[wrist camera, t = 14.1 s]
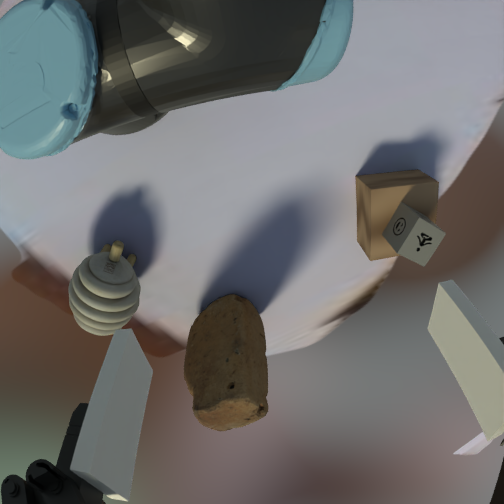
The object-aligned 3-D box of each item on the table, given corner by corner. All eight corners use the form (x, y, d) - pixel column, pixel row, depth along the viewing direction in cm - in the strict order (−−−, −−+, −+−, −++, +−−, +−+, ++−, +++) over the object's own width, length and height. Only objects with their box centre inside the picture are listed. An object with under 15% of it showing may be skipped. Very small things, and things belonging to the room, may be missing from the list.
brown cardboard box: (354, 175, 41) (370, 189, 36) (417, 168, 41) (438, 182, 36) (356, 240, 46) (370, 260, 41) (414, 230, 46) (432, 249, 41)
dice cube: (426, 216, 38) (445, 233, 34) (407, 247, 40) (424, 266, 36) (400, 201, 37) (419, 217, 33) (381, 234, 39) (397, 253, 35)
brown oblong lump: (243, 284, 49) (247, 393, 31) (266, 316, 52) (279, 421, 35) (185, 312, 51) (168, 417, 34) (211, 340, 54) (204, 442, 37)
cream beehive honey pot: (82, 297, 49) (57, 342, 39) (93, 209, 42) (58, 247, 32) (138, 317, 51) (122, 366, 42) (160, 232, 44) (141, 276, 34)
